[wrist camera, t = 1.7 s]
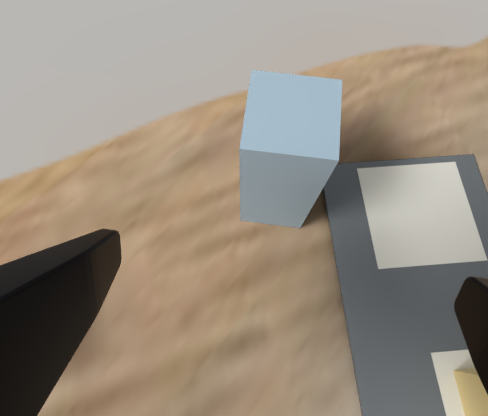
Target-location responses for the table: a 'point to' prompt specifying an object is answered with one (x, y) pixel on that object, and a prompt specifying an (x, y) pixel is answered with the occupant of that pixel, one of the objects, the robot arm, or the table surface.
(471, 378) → the ochre cube
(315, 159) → the pillar
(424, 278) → the mat
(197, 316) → the table surface
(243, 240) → the table surface
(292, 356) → the table surface
